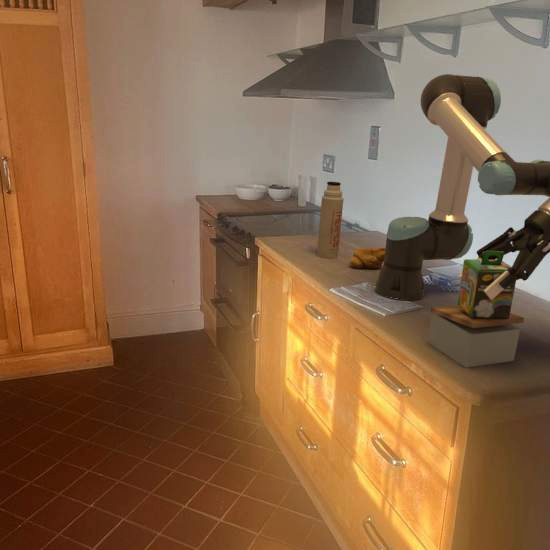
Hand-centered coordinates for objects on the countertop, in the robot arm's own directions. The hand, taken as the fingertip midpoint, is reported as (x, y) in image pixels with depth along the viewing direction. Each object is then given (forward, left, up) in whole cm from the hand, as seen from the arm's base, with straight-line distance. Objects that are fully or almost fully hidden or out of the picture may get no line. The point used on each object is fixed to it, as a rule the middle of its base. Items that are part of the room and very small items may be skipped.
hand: (474, 287), depth 125 cm
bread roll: (-71, +15, -17) cm, 75 cm away
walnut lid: (-1, +3, -8) cm, 9 cm away
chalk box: (+1, +3, -6) cm, 7 cm away
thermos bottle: (-87, +8, -17) cm, 89 cm away
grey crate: (-1, +3, -17) cm, 17 cm away
